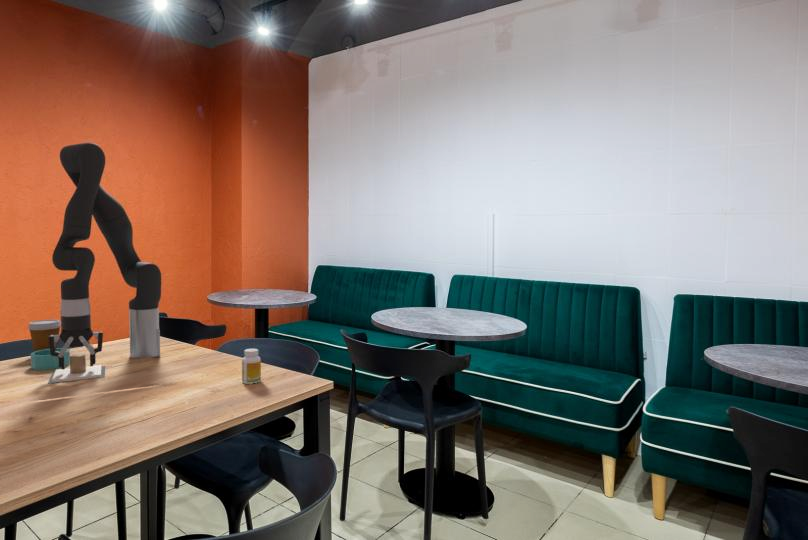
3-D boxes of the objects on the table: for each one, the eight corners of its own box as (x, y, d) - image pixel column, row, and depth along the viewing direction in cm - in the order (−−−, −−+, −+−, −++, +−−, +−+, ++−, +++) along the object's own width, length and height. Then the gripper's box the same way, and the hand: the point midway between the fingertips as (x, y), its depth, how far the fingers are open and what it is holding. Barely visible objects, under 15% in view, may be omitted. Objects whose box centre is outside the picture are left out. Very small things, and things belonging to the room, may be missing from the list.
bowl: (71, 361, 166) (70, 346, 166) (68, 369, 158) (68, 353, 157) (34, 365, 161) (33, 350, 161) (29, 373, 153) (29, 357, 152)
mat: (105, 367, 160) (105, 365, 160) (104, 379, 148) (104, 377, 148) (52, 373, 153) (52, 371, 153) (47, 385, 141) (47, 384, 141)
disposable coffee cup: (49, 359, 169) (48, 324, 168) (22, 358, 169) (20, 323, 168) (68, 352, 178) (67, 319, 177) (42, 351, 178) (41, 318, 177)
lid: (101, 367, 159) (101, 349, 158) (100, 377, 149) (100, 358, 148) (56, 371, 153) (55, 353, 152) (52, 382, 143) (51, 363, 142)
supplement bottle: (264, 380, 150) (264, 349, 149) (252, 385, 145) (252, 353, 144) (250, 378, 152) (250, 347, 152) (238, 382, 148) (237, 350, 147)
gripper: (103, 309, 156) (105, 361, 157) (47, 313, 149) (50, 367, 150) (103, 313, 150) (105, 367, 151) (45, 317, 142) (47, 373, 144)
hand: (77, 367), depth 151 cm, fingers open, 6 cm apart
